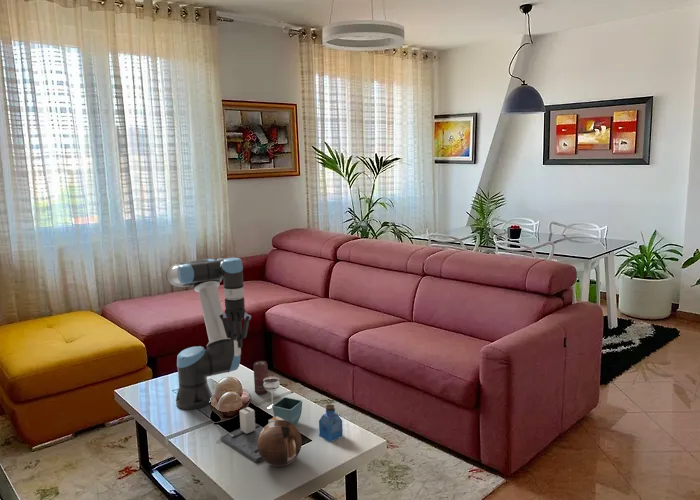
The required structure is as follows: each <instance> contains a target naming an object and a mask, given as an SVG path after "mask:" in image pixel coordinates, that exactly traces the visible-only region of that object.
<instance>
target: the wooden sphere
mask: <svg viewBox="0 0 700 500" xmlns="http://www.w3.org/2000/svg"><path fill="white" fill-rule="evenodd" d="M302 439H303V438H302V436H301V433H300V430H299V429H298V427H296V424H295V425H293V424H292V423H290V422H288V421H285V420H276V421H273V422H271V423H267V424H266V425H265V426H263V429H262V431H261V432H260V435H259V437H258V451H259V454H260V456H261V457H262V459H263V460H262V461H264V462H265V463H267V464H268V465H270V466H272V467H285V466H287V465H290V464H291V463H293V462H294V461H295V460H296V459H297V457H299V455H300V453H301V449H302V443H303V441H302Z"/></svg>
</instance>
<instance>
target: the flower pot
mask: <svg viewBox="0 0 700 500" xmlns="http://www.w3.org/2000/svg"><path fill="white" fill-rule="evenodd" d="M273 404H274V405H273V406H272V407H273V409H272V411H273V417H276V416H278V417H280V418H282V419H284V420H285V421H288V422H290V423H292V424H293V425H295V426H296V424H297V423H298V422H299V420H300V419H301V417H302V410H303V400H301V399H298V398H297V399H296V398H291V397H286V396H284V397H282V398H281V399H280V400H278V401H277V402H275V403H273Z"/></svg>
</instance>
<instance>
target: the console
mask: <svg viewBox="0 0 700 500" xmlns="http://www.w3.org/2000/svg"><path fill="white" fill-rule="evenodd" d="M263 428H264V426H261V425H260V424H258V423H256V422H255V429H256V430H254V431H252V432H250V433H248V434H246V433H244V432H243V431H241V428H240V427H239V428H238V429H234V430H233V431H231V432H229V433H227V434H223V435H222V436H220V442H222V443H224V444H226V445H227V446H228V447H230V448H232V449H234V450H235V451H237V452H238V453H240V454H241V455H243V456H245V457H246V458H248V459H249V460H250V461H252V462H254V463H256V464H257V463H259V462H261V461H264V460H263V459H262V457H261V456H260V454H259V451H258V437H259V435H260V432H261V431H262V429H263Z"/></svg>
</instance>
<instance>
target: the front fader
mask: <svg viewBox="0 0 700 500" xmlns="http://www.w3.org/2000/svg"><path fill="white" fill-rule="evenodd" d="M276 420H284V419H282V418H280V417H278V416H276V417H274V416H273V417H272V418H270V419H268V420H267V421H268V423H267V424H269V423H271V422H273V421H276Z"/></svg>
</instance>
